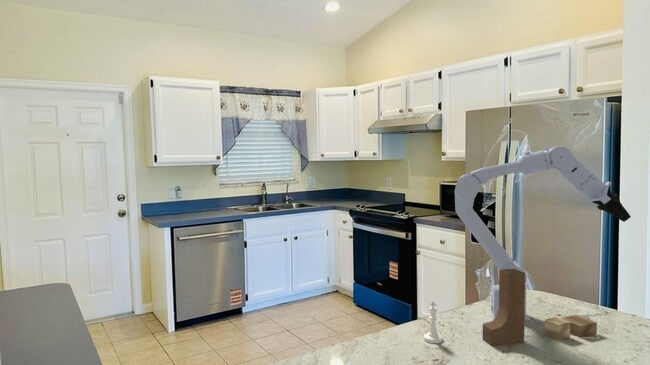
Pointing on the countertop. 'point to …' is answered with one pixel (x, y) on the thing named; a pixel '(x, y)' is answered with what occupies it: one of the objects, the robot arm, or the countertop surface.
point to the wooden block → (508, 311)
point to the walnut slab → (581, 326)
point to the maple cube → (557, 328)
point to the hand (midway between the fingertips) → (623, 216)
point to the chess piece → (433, 327)
